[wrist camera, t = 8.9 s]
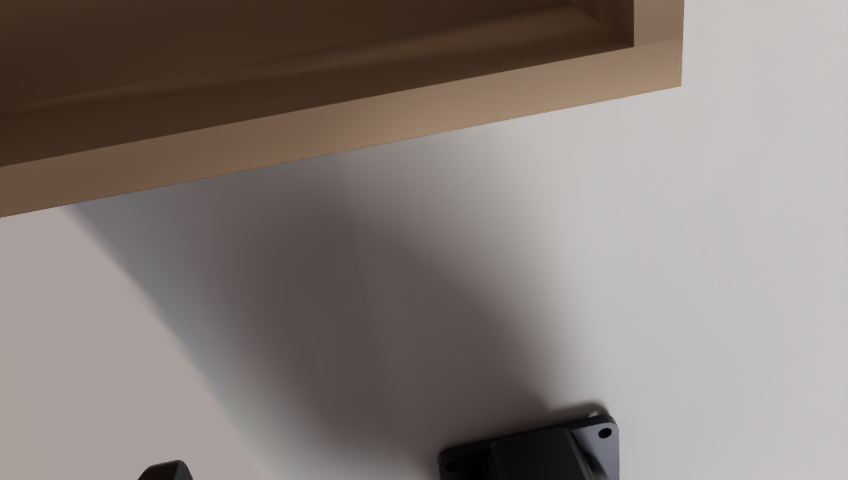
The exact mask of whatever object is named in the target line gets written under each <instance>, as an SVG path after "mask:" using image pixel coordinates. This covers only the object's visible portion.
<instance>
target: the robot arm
mask: <svg viewBox="0 0 848 480" xmlns="http://www.w3.org/2000/svg"><path fill="white" fill-rule="evenodd" d="M604 428H605V429H604ZM601 429H604V430H601ZM451 461H455V462H453V463H449V462H451ZM437 464H438V469H439V474H440V479H441V480H619V429H618V426H617V424H616V422H615V421H614V419H613V418H612V417H611V416H609V415H599V416H594V417H590V418H585V419H580V420H576V421H571V422H567V423H562V424H557V425H553V426H548V427H544V428H539V429H534V430H530V431H525V432H520V433H516V434H511V435H507V436H502V437H497V438H493V439H488V440H484V441H479V442H474V443H470V444H465V445H460V446H456V447H451V448H448V449H445V450H443V451H442V452H440V453H439V455H438V457H437ZM138 480H193V478H192V476H191V474H190V471H189V469H188V467H187V466H186V464H185V463H184V462H183V461H181V460H174V461H170V462H165V463H160V464H156V465H152V466H150V467H148V468H147V469H146V470H145V471H144V472H143V473H142V475H141V476H140V477H139V479H138Z"/></svg>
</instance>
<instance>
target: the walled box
mask: <svg viewBox="0 0 848 480" xmlns="http://www.w3.org/2000/svg"><path fill="white" fill-rule="evenodd" d="M683 19H684V0H0V218H1V217H6V216H11V215H16V214H21V213H27V212H32V211H37V210H42V209H48V208H53V207H58V206H63V205H68V204H73V203H79V202H84V201H89V200H94V199H99V198H105V197H110V196H115V195H120V194H125V193H130V192H136V191H141V190H146V189H151V188H156V187H161V186H167V185H172V184H177V183H182V182H187V181H193V180H198V179H203V178H208V177H213V176H218V175H224V174H229V173H234V172H239V171H244V170H249V169H255V168H260V167H265V166H270V165H275V164H281V163H286V162H291V161H296V160H301V159H306V158H312V157H317V156H322V155H327V154H332V153H337V152H343V151H348V150H353V149H358V148H363V147H369V146H374V145H379V144H384V143H389V142H394V141H400V140H405V139H410V138H415V137H420V136H425V135H431V134H436V133H441V132H446V131H451V130H457V129H462V128H467V127H472V126H477V125H482V124H488V123H493V122H498V121H503V120H508V119H513V118H519V117H524V116H529V115H534V114H539V113H545V112H550V111H555V110H560V109H565V108H570V107H576V106H581V105H586V104H591V103H596V102H601V101H607V100H612V99H617V98H622V97H627V96H633V95H638V94H643V93H648V92H653V91H658V90H664V89H669V88H674V87H679V86H681V74H682V47H683Z"/></svg>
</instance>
